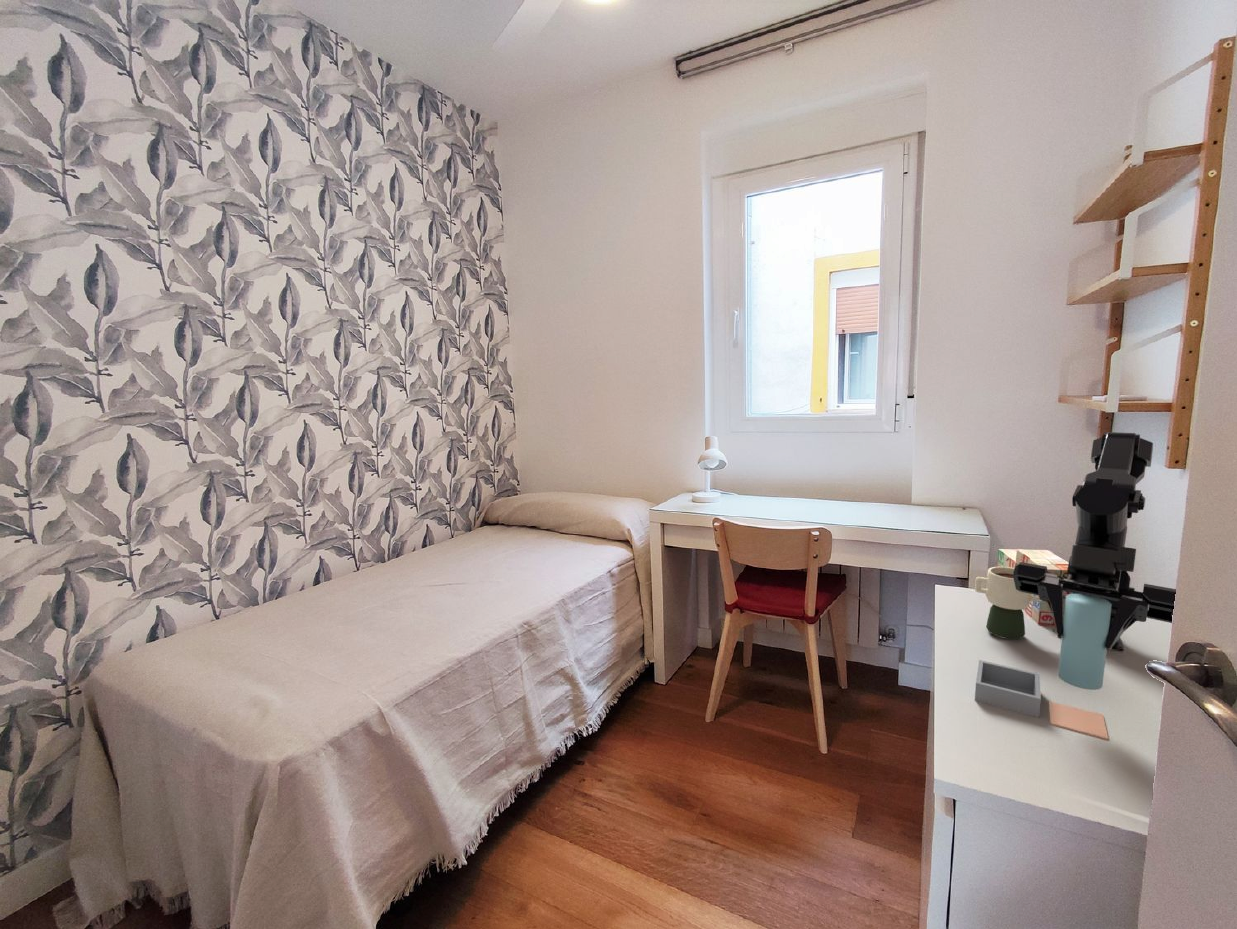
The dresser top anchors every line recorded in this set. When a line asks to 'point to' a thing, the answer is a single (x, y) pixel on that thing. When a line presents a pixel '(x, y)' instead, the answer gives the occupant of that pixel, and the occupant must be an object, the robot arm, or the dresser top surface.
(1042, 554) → the stack of blocks
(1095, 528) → the robot arm
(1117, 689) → the dresser top surface
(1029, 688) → the slate tray
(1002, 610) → the character mug
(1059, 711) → the terracotta coaster
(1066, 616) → the teal post
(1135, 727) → the dresser top surface
